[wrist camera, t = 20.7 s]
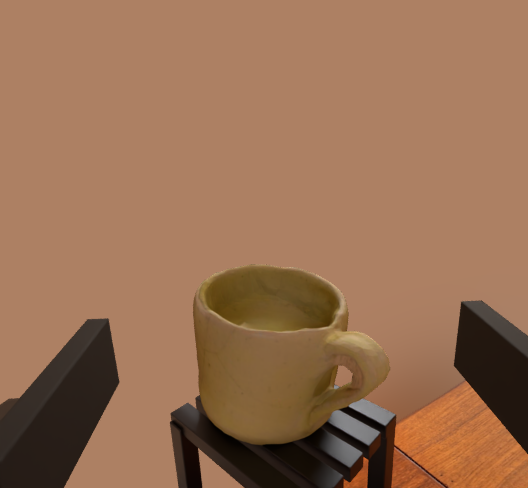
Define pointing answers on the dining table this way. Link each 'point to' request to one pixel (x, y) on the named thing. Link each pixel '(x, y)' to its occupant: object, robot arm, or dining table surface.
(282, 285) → the mug
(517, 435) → the robot arm
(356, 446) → the rack
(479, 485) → the dining table surface
